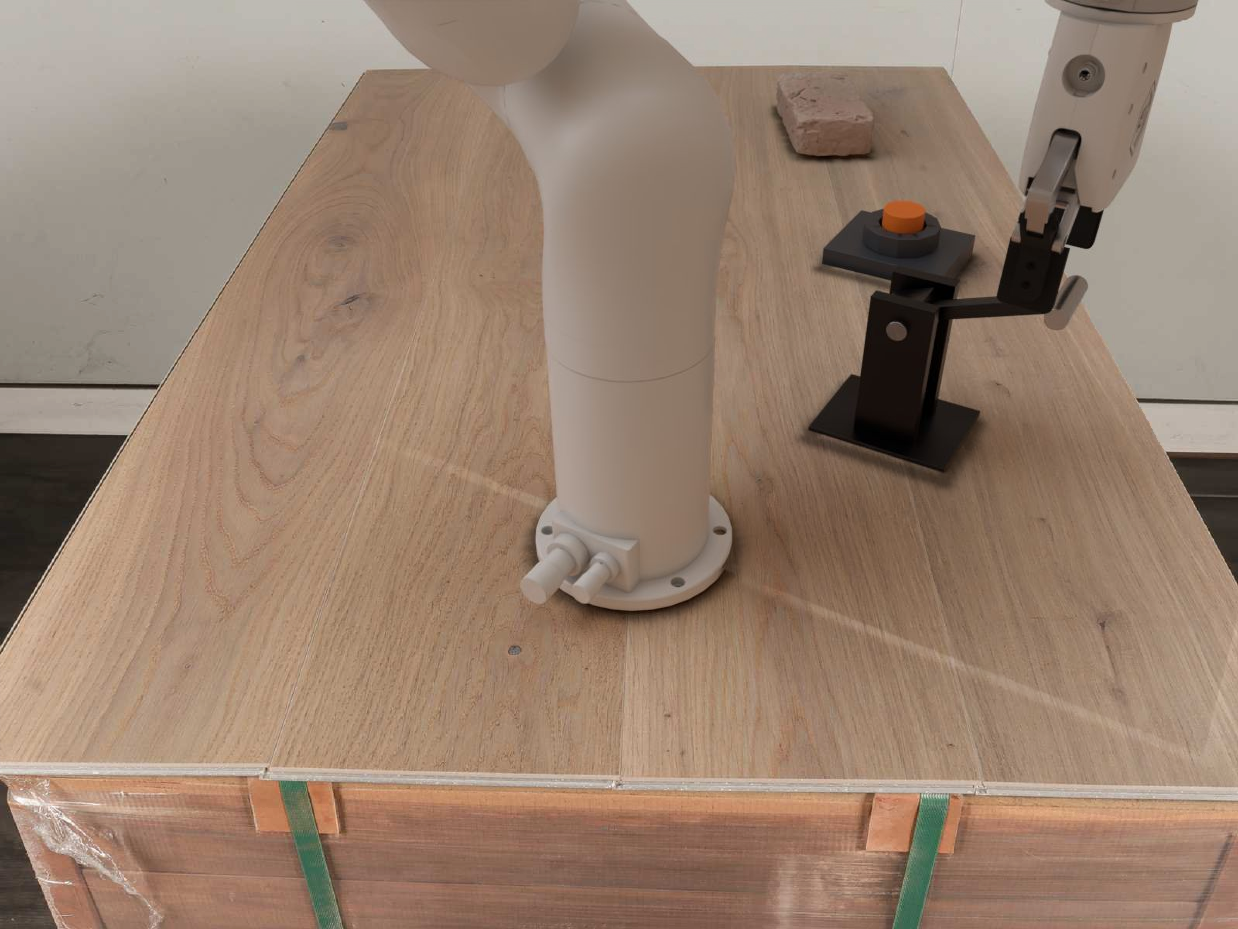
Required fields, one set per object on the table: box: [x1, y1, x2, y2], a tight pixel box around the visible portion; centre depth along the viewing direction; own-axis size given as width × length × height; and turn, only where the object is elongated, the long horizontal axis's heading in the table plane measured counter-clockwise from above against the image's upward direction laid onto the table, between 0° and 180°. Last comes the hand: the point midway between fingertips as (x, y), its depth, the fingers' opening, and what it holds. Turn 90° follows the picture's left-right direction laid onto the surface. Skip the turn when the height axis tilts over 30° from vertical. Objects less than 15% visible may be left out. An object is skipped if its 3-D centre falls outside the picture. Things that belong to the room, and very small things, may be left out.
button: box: [882, 200, 927, 234], centre depth 99 cm, size 4×4×2 cm
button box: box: [821, 208, 976, 282], centre depth 100 cm, size 11×9×4 cm
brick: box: [775, 70, 875, 157], centre depth 126 cm, size 17×8×5 cm, turn 2°
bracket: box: [807, 266, 981, 473], centre depth 78 cm, size 10×8×12 cm
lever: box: [892, 274, 1089, 331], centre depth 72 cm, size 12×5×2 cm, turn 58°
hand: (1046, 272), depth 68 cm, fingers open, 9 cm apart
